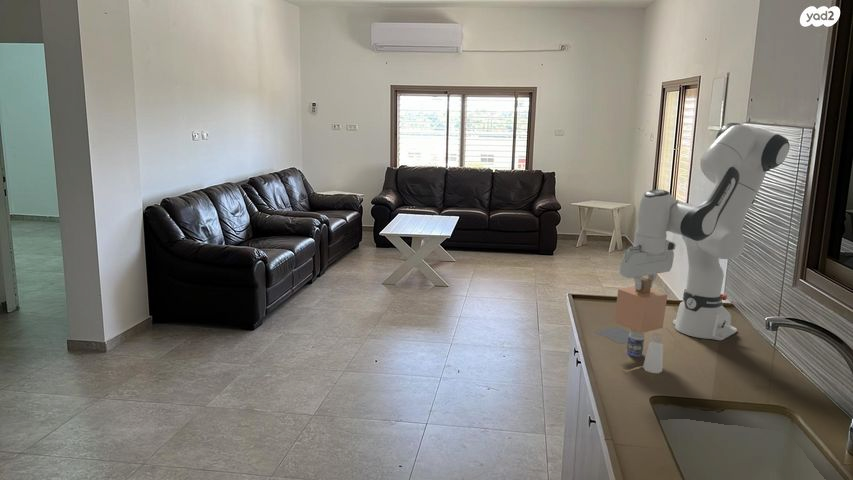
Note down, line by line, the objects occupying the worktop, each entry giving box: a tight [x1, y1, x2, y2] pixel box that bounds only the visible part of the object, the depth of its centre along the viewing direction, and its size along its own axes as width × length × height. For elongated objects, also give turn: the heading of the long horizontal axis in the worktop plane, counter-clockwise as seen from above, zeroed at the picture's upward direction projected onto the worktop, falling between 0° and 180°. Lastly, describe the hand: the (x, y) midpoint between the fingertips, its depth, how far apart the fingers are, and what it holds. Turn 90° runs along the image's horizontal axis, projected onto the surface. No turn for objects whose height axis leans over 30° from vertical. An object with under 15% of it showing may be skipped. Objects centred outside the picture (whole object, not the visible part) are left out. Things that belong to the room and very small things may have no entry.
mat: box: [594, 326, 631, 345], centre depth 212 cm, size 12×12×1 cm
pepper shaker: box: [642, 333, 664, 374], centre depth 186 cm, size 5×5×11 cm
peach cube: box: [613, 276, 669, 334], centre depth 193 cm, size 10×10×15 cm
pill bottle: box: [625, 329, 645, 357], centre depth 196 cm, size 5×5×8 cm
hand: (643, 288), depth 192 cm, fingers closed on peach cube, 3 cm apart
